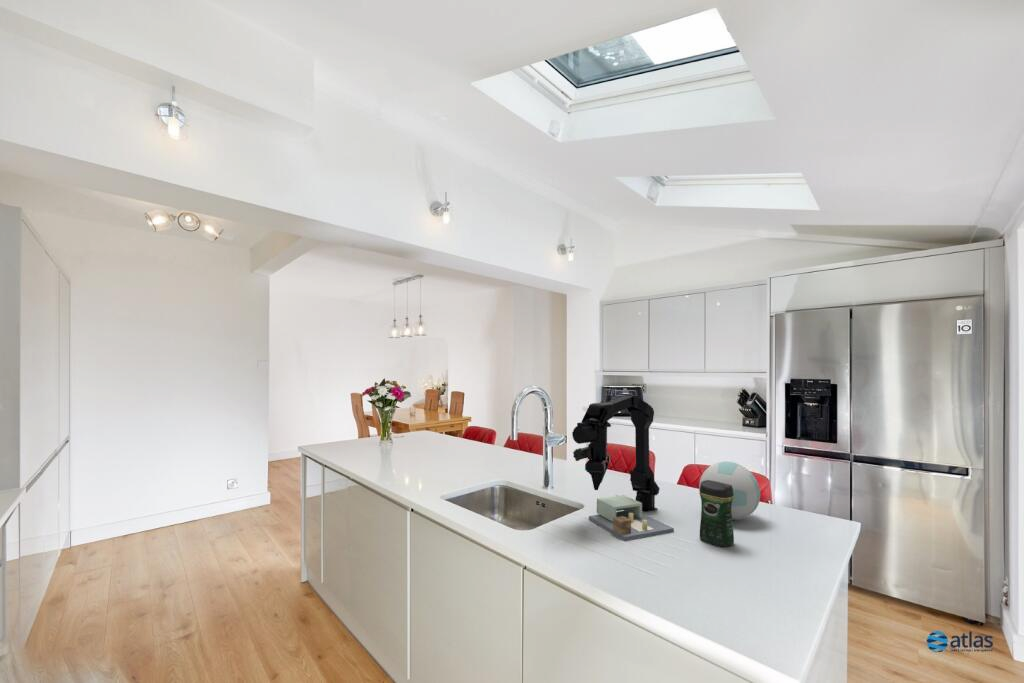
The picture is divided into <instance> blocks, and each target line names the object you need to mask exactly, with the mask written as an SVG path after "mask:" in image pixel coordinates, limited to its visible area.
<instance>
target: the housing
mask: <svg viewBox="0 0 1024 683" xmlns="http://www.w3.org/2000/svg"><path fill="white" fill-rule="evenodd" d="M620 511H626V512H628V513H633V515H634V516H636V517H638V518H642V513H643V511H642V503H641V502H638V501H636V499H634V498H631V497H629V496H626V495H625V494H622V495H621V494H620V495H614V496H606V497H598V498H596V514H597V515H601V516H603V517H605V518H607V519H608V520H610V521H612V522H613V518H615V517H616V512H620Z"/></svg>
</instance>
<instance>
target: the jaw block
mask: <svg viewBox="0 0 1024 683" xmlns="http://www.w3.org/2000/svg"><path fill="white" fill-rule="evenodd" d="M613 530H614V531H615V532H617V533H619V534H620V535H622V534H627V533H631V520H630V519H628V518H626V517H624V516H621V517H615V518H613Z"/></svg>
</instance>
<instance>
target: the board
mask: <svg viewBox="0 0 1024 683" xmlns="http://www.w3.org/2000/svg"><path fill="white" fill-rule="evenodd" d="M621 516H624V517H626V518H628V519H630V520H631V533H627V534H622V535H620V534H619V533H617V532H615V531H614V530H613V522H612V521H610V520H608V519H607V518H605V517H603V516H601V515H599V514H594V515H589V516H588V520H589V521H590V522H592V523H594V524H596V525H597V526H598V527H601V528H602V529H604V530H606V531H607V532H609V533H611V534H613V535H614V536H616V537H617V538H619V539H620V540H623V541H624V542H625V541H632V540H637V539H638V540H639V539H642V538H647V537H653V536H659V535H664V534H665V535H666V534H669V533H674V531H675V530H674V529H675V528H674V527H672V526H670V525H667V524H665V523H664V522H662V521H659V520H658V519H655V518H653V517H651V516H649V515H647V514H645V513H644V512H642V518H638V517H636V516H634V515H633V513H628V512H626V511H624V510H621V511H616V517H621Z"/></svg>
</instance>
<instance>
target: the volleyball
mask: <svg viewBox="0 0 1024 683" xmlns="http://www.w3.org/2000/svg"><path fill="white" fill-rule="evenodd" d="M705 480H711V481H716V482H720V483H725V484H729V485H732V488H733V494H734V499H733V501H732V505H731V513H732V521H733V520H742V519H744V518H747V517H749V516H751V515H752V514H753V513H754V512H755V511H756V510H757V508H758V507H759V506H758V505H759V503H760V500H761V489H760V485H759V483H758V481H757V478H756V477H755V476H754V474H753V473H752V472H751V470H749V469H748V468H746V467H745V466H743V465H741V464H739V463H736V462H733V461H720V462H715V463H713V464H712V465H710V466H708V467H707V468H706V469H705V470H704V471H703V473H702V474H701V477H700V478H699V485H698V487H699V488H698V489H699V491H698V492H700V485H701V482H702V481H705Z"/></svg>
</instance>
